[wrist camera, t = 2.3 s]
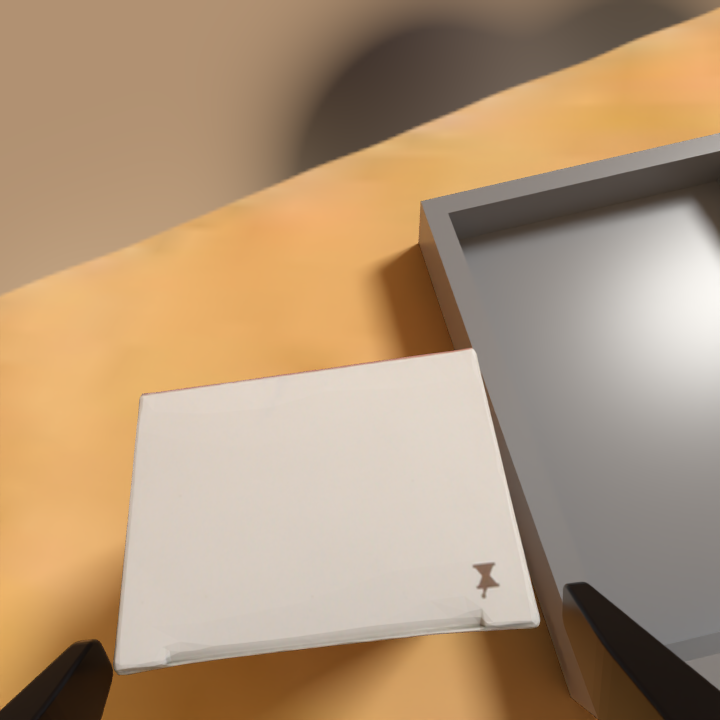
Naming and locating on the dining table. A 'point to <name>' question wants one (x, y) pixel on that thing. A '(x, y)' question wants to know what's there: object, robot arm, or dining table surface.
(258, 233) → the dining table surface
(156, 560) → the small box
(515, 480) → the tray
